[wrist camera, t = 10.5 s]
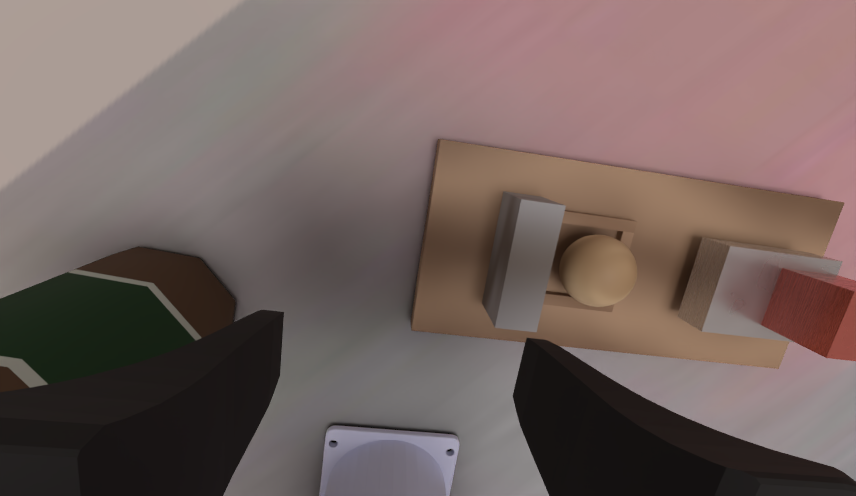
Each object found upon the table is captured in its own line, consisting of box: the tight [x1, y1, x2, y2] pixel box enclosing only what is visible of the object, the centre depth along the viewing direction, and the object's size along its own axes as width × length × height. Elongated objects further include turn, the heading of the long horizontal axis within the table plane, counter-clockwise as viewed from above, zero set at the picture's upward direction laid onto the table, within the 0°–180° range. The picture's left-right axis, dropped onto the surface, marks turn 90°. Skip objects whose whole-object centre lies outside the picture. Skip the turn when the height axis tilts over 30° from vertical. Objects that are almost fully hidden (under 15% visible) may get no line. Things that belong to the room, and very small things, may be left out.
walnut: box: [559, 235, 637, 307], centre depth 20 cm, size 4×4×4 cm
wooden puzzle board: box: [411, 139, 844, 369], centre depth 21 cm, size 10×22×4 cm, turn 81°
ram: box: [677, 238, 856, 361], centre depth 19 cm, size 4×6×5 cm
